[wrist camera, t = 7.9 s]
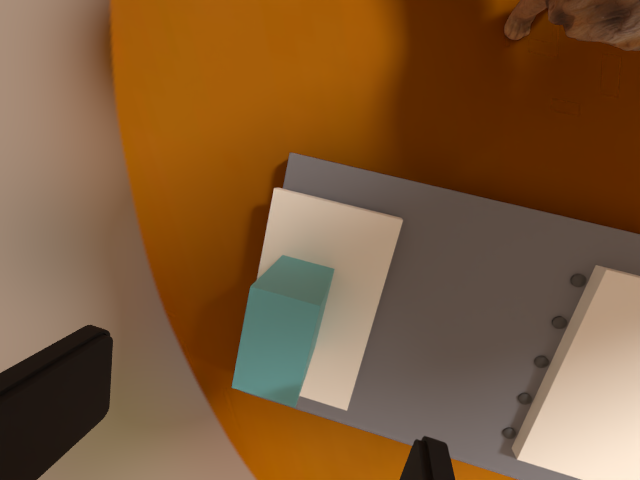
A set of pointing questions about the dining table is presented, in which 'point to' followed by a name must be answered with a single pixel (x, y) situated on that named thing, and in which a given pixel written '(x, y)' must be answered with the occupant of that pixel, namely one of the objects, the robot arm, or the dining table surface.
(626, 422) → the board
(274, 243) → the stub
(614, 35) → the lion figurine
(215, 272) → the dining table surface
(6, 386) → the robot arm
